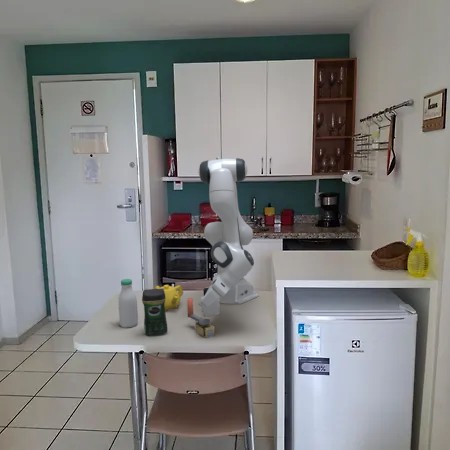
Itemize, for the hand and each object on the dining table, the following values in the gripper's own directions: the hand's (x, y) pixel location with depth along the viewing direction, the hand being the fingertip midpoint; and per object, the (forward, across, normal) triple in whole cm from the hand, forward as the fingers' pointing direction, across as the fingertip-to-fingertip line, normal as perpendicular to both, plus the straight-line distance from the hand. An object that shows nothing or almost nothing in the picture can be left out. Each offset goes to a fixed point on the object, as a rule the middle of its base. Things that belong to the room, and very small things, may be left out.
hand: (200, 304), depth 180 cm
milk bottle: (+30, +1, -16) cm, 34 cm away
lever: (+4, +4, +4) cm, 7 cm away
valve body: (+5, +7, +9) cm, 12 cm away
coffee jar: (+20, +8, -5) cm, 22 cm away
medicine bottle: (+6, -16, +8) cm, 19 cm away
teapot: (+22, -20, -8) cm, 31 cm away
